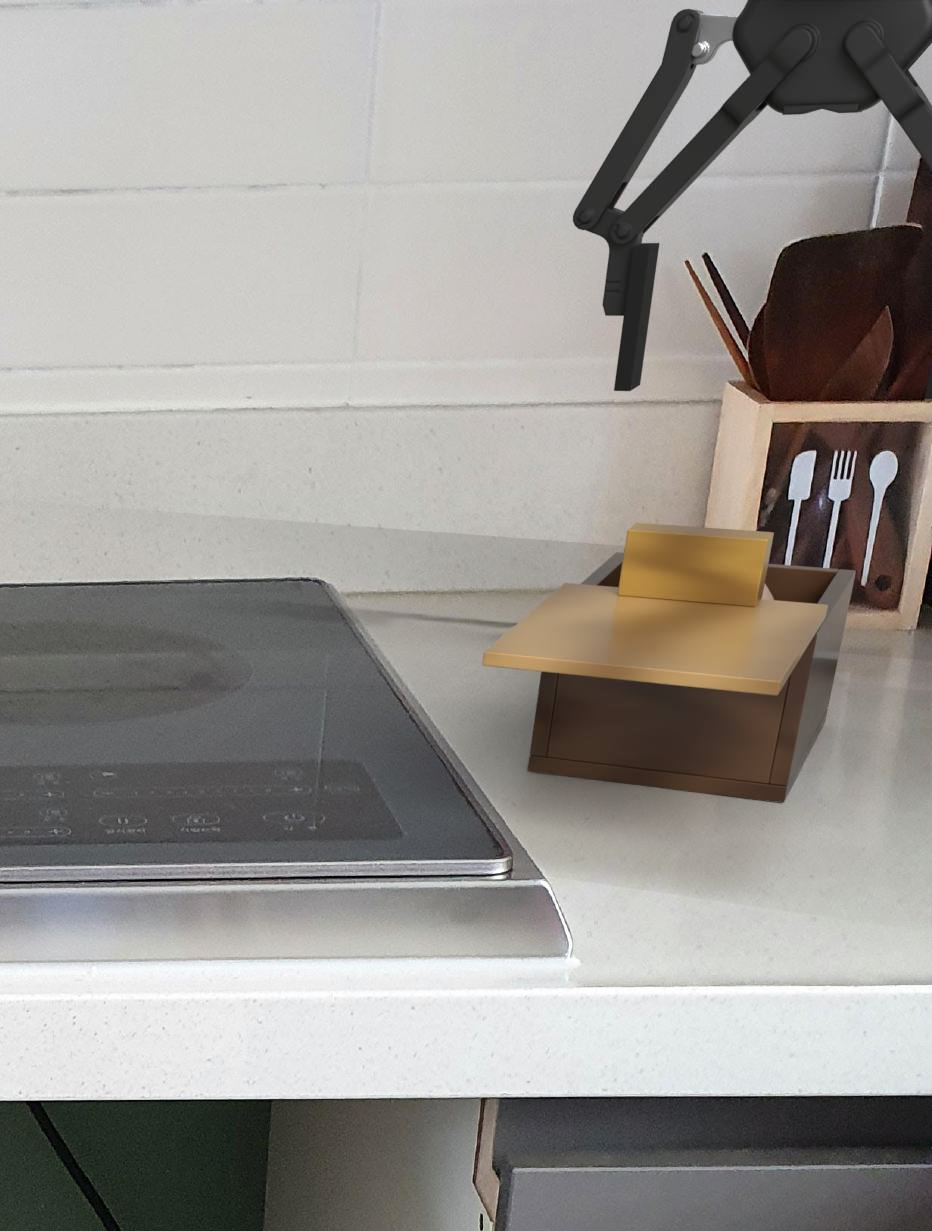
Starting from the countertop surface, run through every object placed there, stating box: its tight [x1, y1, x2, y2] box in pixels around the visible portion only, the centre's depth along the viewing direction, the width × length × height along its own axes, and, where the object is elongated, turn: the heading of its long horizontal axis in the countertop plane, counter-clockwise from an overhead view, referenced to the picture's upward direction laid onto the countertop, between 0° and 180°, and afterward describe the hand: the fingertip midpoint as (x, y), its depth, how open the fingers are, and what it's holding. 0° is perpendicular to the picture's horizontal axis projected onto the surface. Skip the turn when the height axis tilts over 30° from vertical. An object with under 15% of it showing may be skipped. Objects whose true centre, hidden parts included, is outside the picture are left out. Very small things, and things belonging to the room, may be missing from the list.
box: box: [526, 551, 857, 803], centre depth 104 cm, size 12×16×8 cm
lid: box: [482, 522, 828, 696], centre depth 91 cm, size 12×16×4 cm
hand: (776, 392), depth 100 cm, fingers open, 13 cm apart
